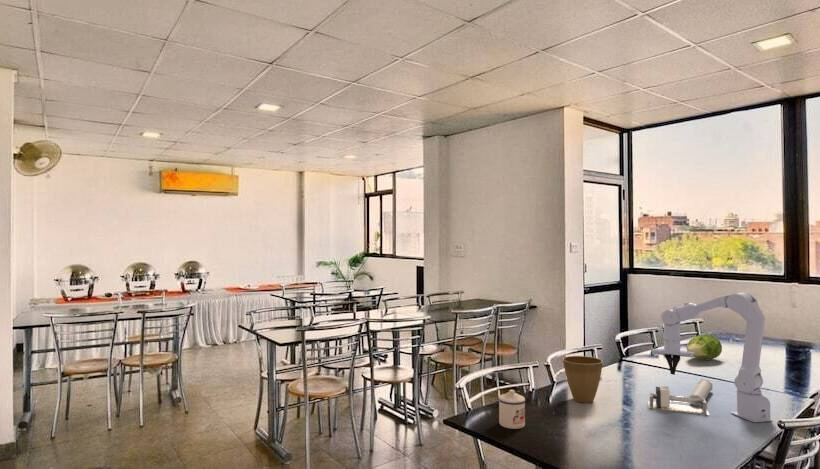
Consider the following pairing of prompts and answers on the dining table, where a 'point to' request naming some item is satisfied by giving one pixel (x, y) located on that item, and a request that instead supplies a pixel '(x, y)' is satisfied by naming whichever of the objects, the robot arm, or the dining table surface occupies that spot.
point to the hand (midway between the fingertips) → (672, 373)
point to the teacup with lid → (512, 410)
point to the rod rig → (681, 407)
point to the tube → (701, 390)
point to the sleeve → (665, 396)
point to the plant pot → (583, 376)
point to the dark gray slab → (658, 397)
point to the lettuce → (704, 347)
